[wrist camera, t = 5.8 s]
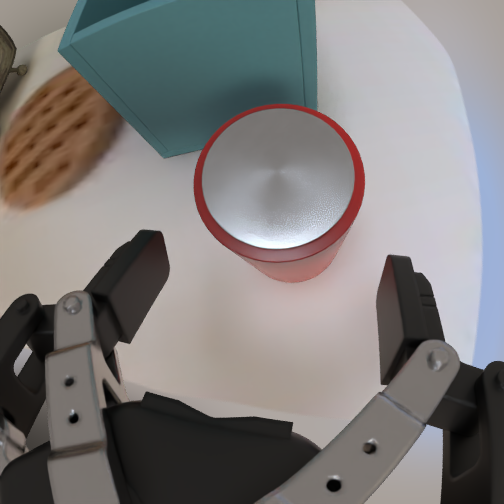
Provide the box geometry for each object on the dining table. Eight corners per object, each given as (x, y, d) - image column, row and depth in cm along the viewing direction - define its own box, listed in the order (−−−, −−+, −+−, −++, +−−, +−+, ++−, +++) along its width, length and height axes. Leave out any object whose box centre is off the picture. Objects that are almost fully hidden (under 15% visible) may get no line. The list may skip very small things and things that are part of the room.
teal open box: (317, 129, 22) (313, -26, 9) (163, 158, 24) (56, 51, 11) (285, 16, 24) (264, -101, 11) (167, 42, 26) (108, -57, 13)
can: (300, 302, 20) (294, 300, 10) (225, 244, 22) (158, 194, 12) (358, 225, 20) (397, 156, 10) (282, 172, 22) (260, 77, 12)
